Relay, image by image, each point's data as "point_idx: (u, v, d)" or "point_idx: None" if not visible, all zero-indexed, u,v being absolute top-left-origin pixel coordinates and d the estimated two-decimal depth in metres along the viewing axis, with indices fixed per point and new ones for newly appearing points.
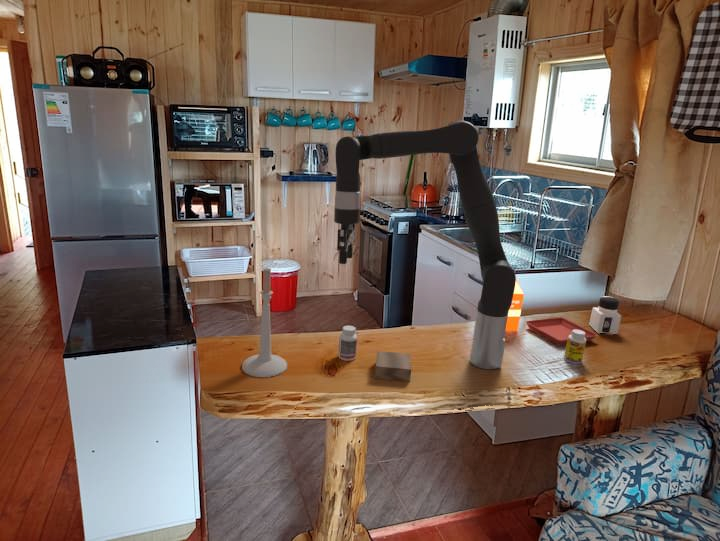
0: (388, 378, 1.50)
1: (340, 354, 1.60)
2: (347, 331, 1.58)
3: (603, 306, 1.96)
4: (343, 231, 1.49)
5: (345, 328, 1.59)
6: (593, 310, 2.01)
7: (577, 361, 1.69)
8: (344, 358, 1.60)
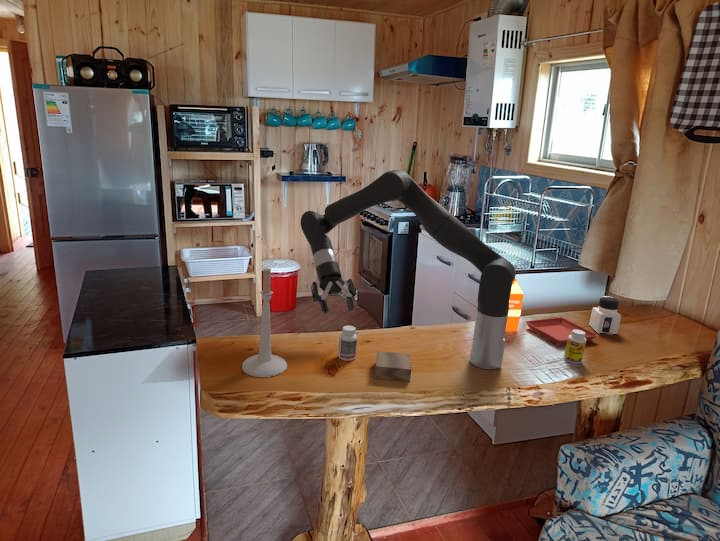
0: (388, 378, 1.50)
1: (340, 354, 1.60)
2: (347, 331, 1.58)
3: (603, 306, 1.96)
4: (312, 284, 1.66)
5: (345, 328, 1.59)
6: (593, 310, 2.01)
7: (577, 361, 1.69)
8: (344, 358, 1.60)
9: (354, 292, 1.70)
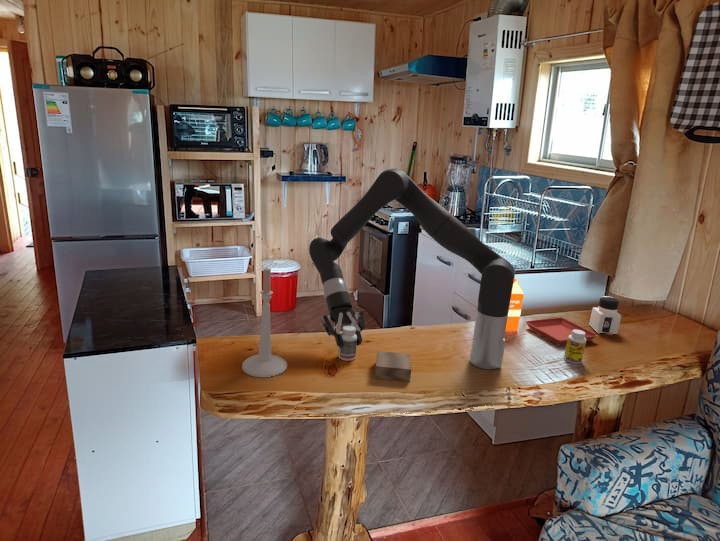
0: (388, 378, 1.50)
1: (340, 354, 1.60)
2: (347, 331, 1.58)
3: (603, 306, 1.96)
4: (322, 318, 1.60)
5: (345, 328, 1.59)
6: (593, 310, 2.01)
7: (577, 361, 1.69)
8: (344, 358, 1.60)
9: (362, 326, 1.63)
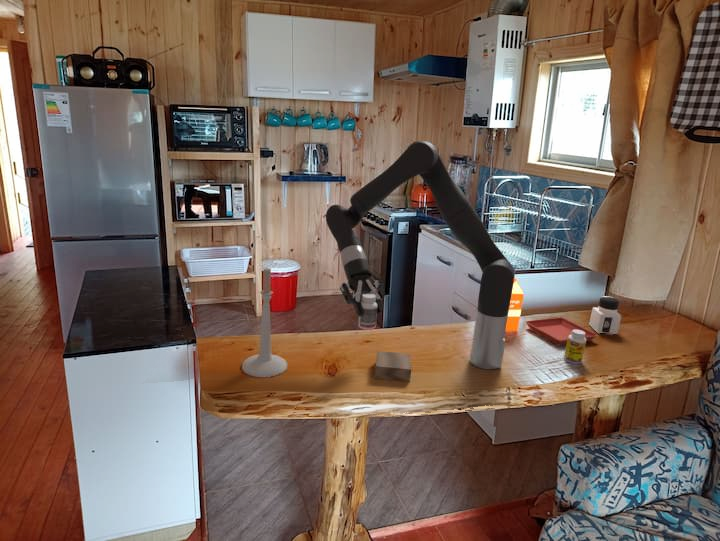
0: (388, 378, 1.50)
1: (360, 323, 1.54)
2: (367, 299, 1.52)
3: (603, 306, 1.96)
4: (341, 286, 1.54)
5: (365, 296, 1.53)
6: (593, 310, 2.01)
7: (577, 361, 1.69)
8: (364, 327, 1.54)
9: (382, 294, 1.57)
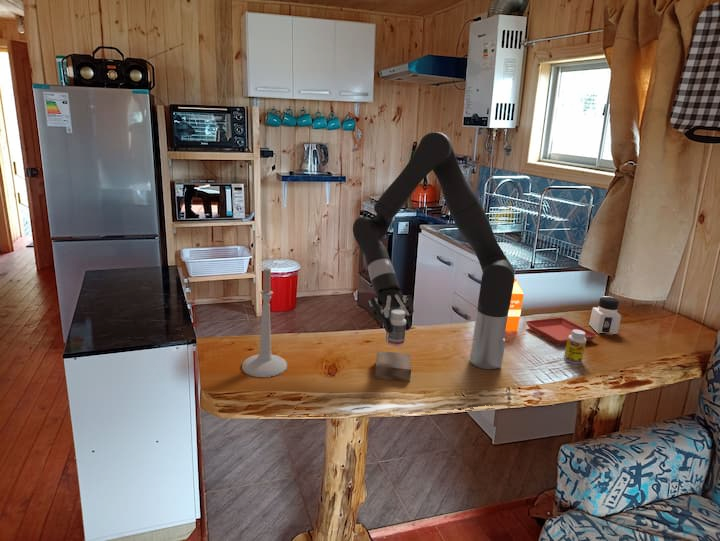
0: (388, 378, 1.50)
1: (388, 339, 1.51)
2: (397, 315, 1.48)
3: (603, 306, 1.96)
4: (370, 301, 1.50)
5: (394, 312, 1.49)
6: (593, 310, 2.01)
7: (577, 361, 1.69)
8: (392, 344, 1.50)
9: (411, 310, 1.53)
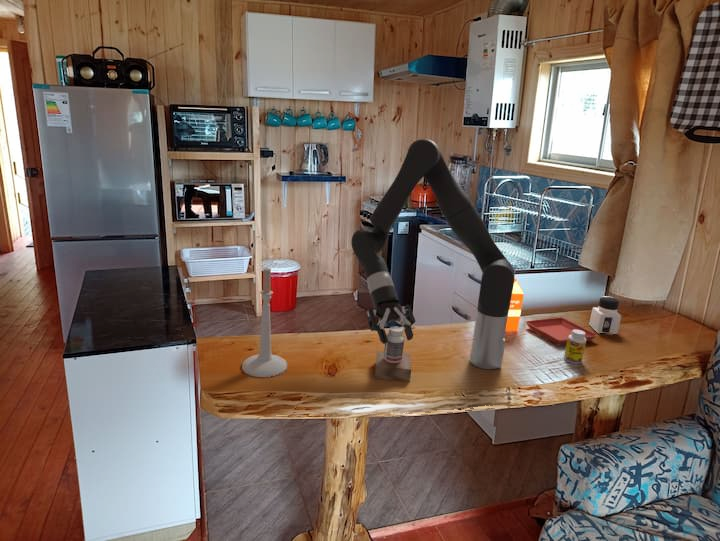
0: (388, 378, 1.50)
1: (386, 356, 1.52)
2: (395, 332, 1.50)
3: (603, 306, 1.96)
4: (368, 311, 1.51)
5: (392, 329, 1.51)
6: (593, 310, 2.01)
7: (577, 361, 1.69)
8: (390, 360, 1.51)
9: (413, 320, 1.55)
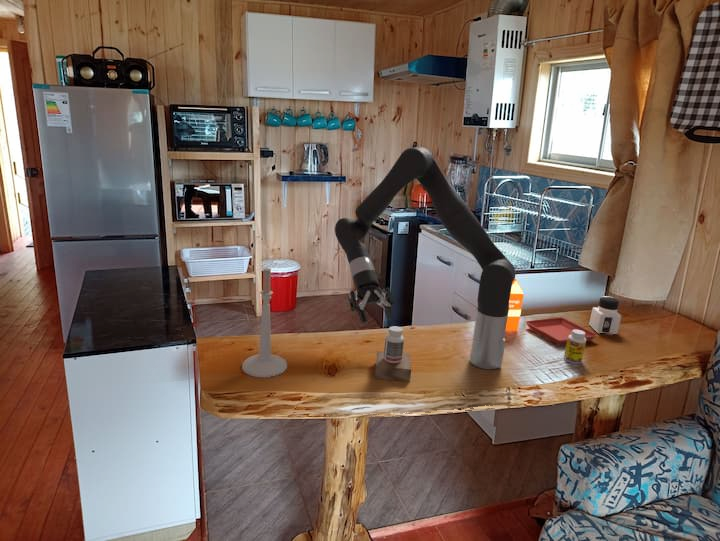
0: (388, 378, 1.50)
1: (386, 356, 1.52)
2: (394, 332, 1.50)
3: (603, 306, 1.96)
4: (349, 293, 1.62)
5: (392, 329, 1.51)
6: (593, 310, 2.01)
7: (577, 361, 1.69)
8: (390, 360, 1.51)
9: (392, 301, 1.65)
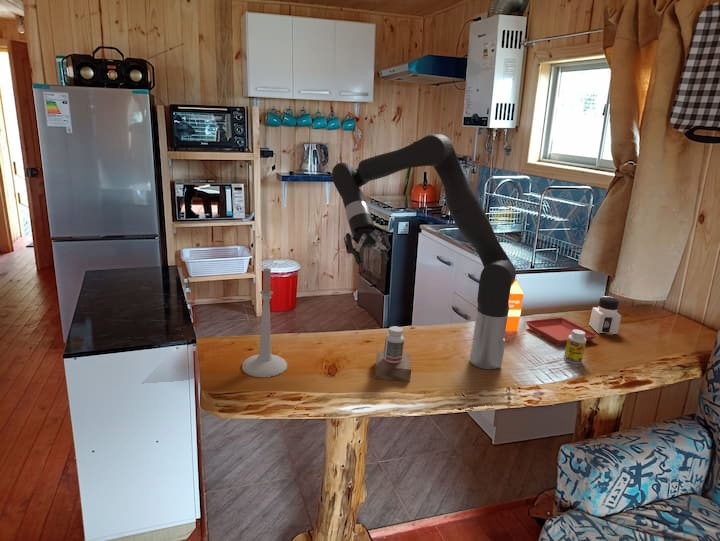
0: (388, 378, 1.50)
1: (386, 356, 1.52)
2: (395, 332, 1.50)
3: (603, 306, 1.96)
4: (345, 235, 1.61)
5: (392, 329, 1.51)
6: (593, 310, 2.01)
7: (577, 361, 1.69)
8: (390, 360, 1.51)
9: (388, 245, 1.64)
